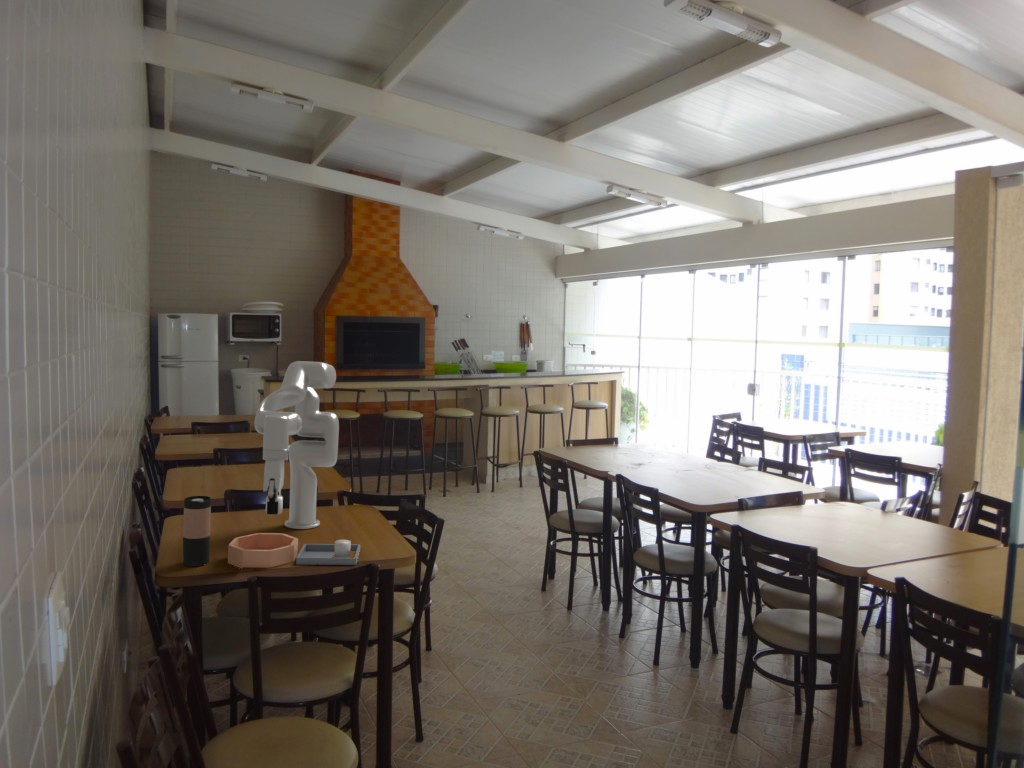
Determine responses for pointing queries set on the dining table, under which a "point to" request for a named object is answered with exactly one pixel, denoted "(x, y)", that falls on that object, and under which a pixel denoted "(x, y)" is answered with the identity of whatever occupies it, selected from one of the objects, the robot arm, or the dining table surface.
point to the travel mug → (196, 530)
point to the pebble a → (280, 504)
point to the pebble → (342, 549)
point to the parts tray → (324, 555)
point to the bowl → (262, 550)
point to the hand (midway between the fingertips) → (273, 511)
